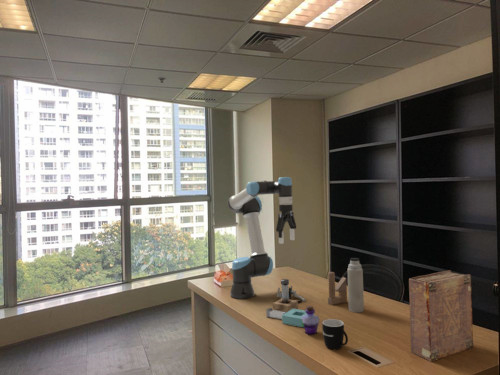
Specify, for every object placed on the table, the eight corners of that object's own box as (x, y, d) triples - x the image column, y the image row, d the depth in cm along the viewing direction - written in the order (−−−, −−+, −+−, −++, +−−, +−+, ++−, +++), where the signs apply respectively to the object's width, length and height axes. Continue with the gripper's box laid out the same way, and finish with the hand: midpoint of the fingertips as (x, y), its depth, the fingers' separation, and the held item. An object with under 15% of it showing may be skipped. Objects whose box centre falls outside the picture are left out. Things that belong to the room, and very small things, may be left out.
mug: (318, 346, 160) (317, 322, 160) (332, 340, 165) (332, 317, 165) (340, 355, 150) (339, 330, 150) (355, 349, 155) (354, 325, 155)
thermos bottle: (350, 307, 209) (348, 256, 209) (364, 308, 205) (363, 257, 205) (347, 311, 201) (345, 259, 201) (362, 313, 198) (361, 260, 198)
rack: (273, 312, 204) (272, 303, 204) (281, 307, 212) (281, 298, 212) (289, 315, 198) (289, 305, 198) (298, 309, 207) (297, 300, 207)
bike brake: (273, 297, 228) (293, 311, 211) (274, 287, 227) (294, 300, 210) (292, 294, 235) (312, 307, 218) (293, 283, 234) (313, 296, 217)
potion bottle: (298, 330, 177) (297, 305, 177) (314, 327, 180) (313, 302, 180) (307, 337, 169) (306, 310, 169) (323, 334, 172) (322, 308, 172)
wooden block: (347, 302, 217) (346, 271, 216) (331, 305, 213) (330, 273, 213) (343, 300, 220) (342, 270, 220) (327, 303, 216) (326, 272, 216)
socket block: (282, 323, 187) (282, 315, 187) (293, 316, 197) (292, 308, 197) (304, 327, 181) (304, 319, 181) (314, 319, 191) (314, 311, 191)
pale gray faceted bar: (266, 316, 197) (266, 309, 197) (269, 314, 200) (269, 307, 200) (289, 320, 190) (289, 313, 190) (292, 318, 193) (292, 311, 193)
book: (452, 339, 162) (450, 270, 162) (473, 347, 153) (471, 274, 153) (410, 352, 151) (408, 278, 151) (431, 362, 142) (428, 283, 142)
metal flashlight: (280, 311, 205) (279, 280, 205) (284, 309, 208) (283, 278, 208) (287, 312, 202) (286, 281, 202) (291, 310, 206) (290, 279, 206)
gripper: (281, 205, 200) (282, 245, 200) (301, 203, 221) (302, 239, 221) (269, 205, 204) (270, 244, 205) (289, 203, 225) (290, 238, 226)
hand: (287, 241), depth 213 cm, fingers open, 13 cm apart
